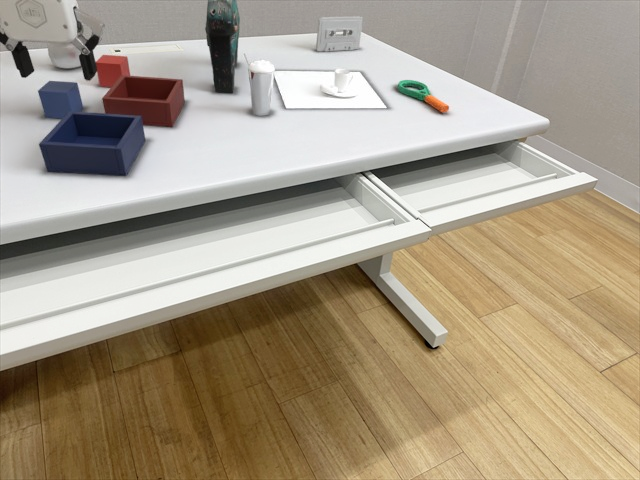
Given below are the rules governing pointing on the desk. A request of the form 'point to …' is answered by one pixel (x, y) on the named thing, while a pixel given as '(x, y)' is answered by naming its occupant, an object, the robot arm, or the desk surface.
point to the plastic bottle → (64, 55)
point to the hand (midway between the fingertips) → (59, 76)
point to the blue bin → (93, 143)
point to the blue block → (60, 98)
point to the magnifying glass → (422, 94)
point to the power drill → (223, 42)
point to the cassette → (338, 41)
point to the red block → (111, 69)
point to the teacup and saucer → (326, 89)
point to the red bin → (146, 99)
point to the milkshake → (261, 86)
